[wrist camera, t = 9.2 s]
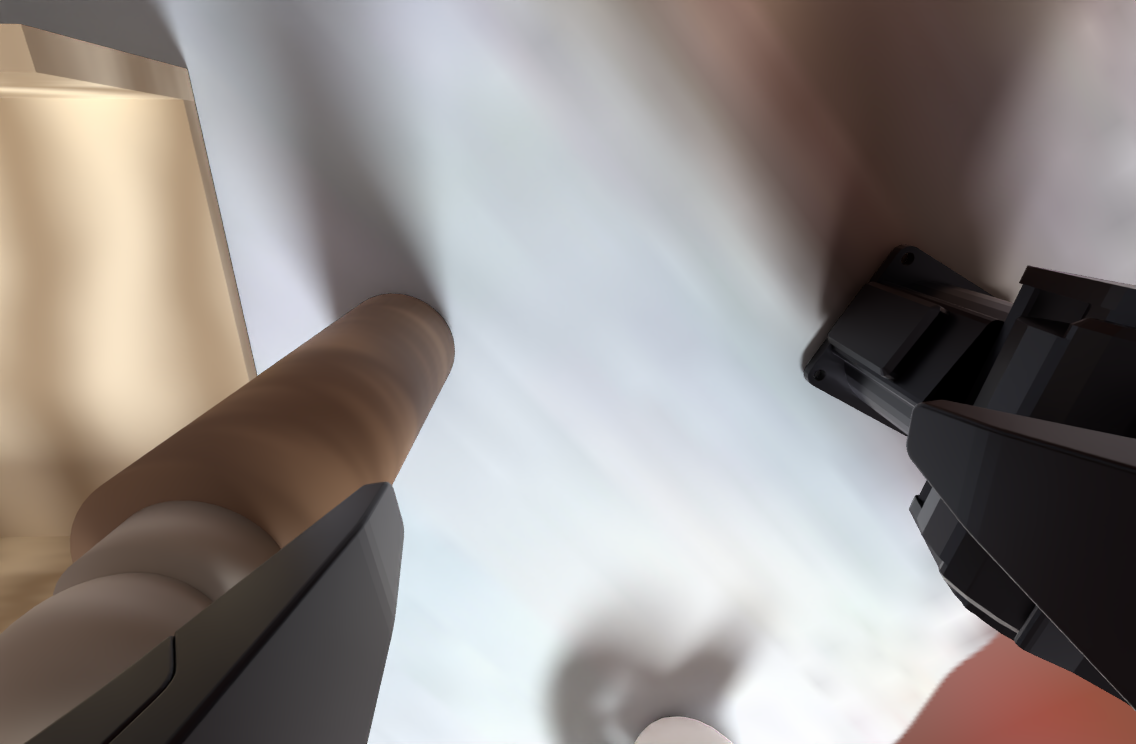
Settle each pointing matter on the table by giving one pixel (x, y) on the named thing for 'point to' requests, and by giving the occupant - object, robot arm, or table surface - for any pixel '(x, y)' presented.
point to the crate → (99, 286)
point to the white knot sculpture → (680, 732)
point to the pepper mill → (224, 502)
